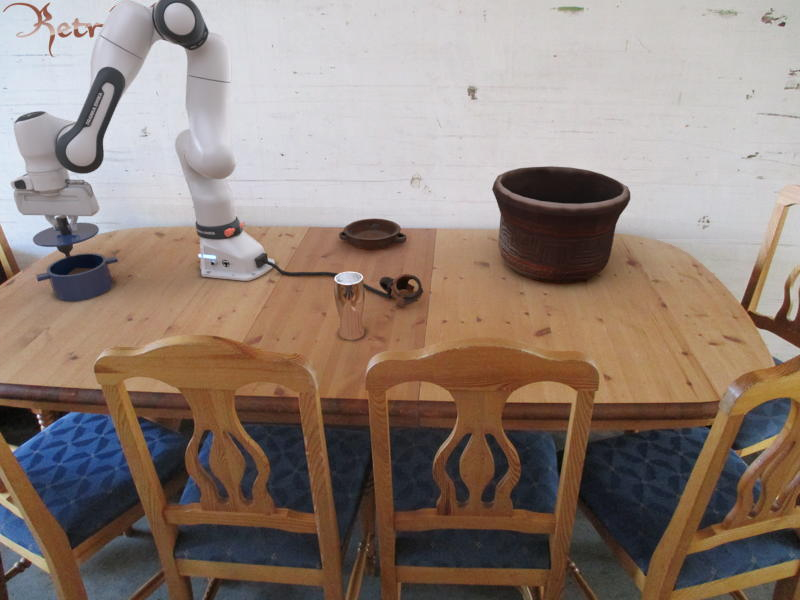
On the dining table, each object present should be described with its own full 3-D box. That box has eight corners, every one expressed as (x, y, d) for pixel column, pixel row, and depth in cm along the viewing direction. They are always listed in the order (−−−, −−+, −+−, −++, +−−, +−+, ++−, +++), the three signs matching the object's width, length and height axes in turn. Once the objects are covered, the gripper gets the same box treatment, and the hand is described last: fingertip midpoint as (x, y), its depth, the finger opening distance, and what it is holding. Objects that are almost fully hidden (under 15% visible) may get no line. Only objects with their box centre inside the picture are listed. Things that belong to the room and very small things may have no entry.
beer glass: (337, 326, 141) (333, 271, 134) (366, 325, 141) (363, 270, 134) (337, 342, 135) (332, 285, 127) (366, 340, 135) (364, 284, 128)
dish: (344, 230, 194) (343, 217, 192) (409, 232, 192) (409, 218, 190) (334, 252, 179) (332, 237, 177) (404, 254, 177) (404, 239, 175)
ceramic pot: (472, 281, 161) (477, 195, 148) (502, 234, 190) (508, 159, 178) (610, 304, 148) (628, 213, 136) (620, 250, 178) (635, 171, 166)
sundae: (72, 268, 171) (57, 221, 164) (53, 267, 172) (37, 220, 165) (87, 259, 177) (73, 213, 170) (68, 258, 178) (53, 212, 171)
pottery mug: (423, 292, 157) (428, 275, 150) (414, 320, 152) (419, 305, 145) (382, 278, 157) (385, 261, 150) (371, 306, 152) (373, 290, 145)
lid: (105, 239, 151) (99, 219, 148) (38, 254, 143) (31, 233, 140) (93, 222, 162) (87, 203, 159) (30, 235, 154) (23, 215, 151)
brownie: (98, 282, 162) (94, 268, 160) (88, 291, 157) (83, 277, 155) (80, 282, 163) (75, 267, 160) (69, 291, 158) (64, 276, 156)
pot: (128, 288, 160) (122, 264, 156) (48, 309, 150) (39, 284, 146) (116, 269, 170) (110, 246, 167) (40, 288, 160) (32, 264, 157)
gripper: (96, 176, 147) (109, 226, 154) (20, 175, 148) (37, 225, 155) (82, 183, 141) (97, 235, 148) (3, 182, 143) (22, 234, 150)
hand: (66, 230), depth 152 cm, fingers closed on lid, 2 cm apart
